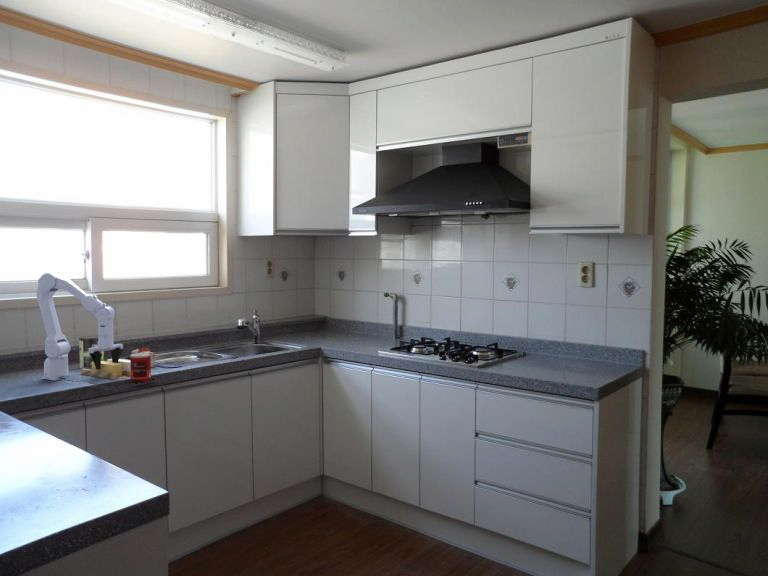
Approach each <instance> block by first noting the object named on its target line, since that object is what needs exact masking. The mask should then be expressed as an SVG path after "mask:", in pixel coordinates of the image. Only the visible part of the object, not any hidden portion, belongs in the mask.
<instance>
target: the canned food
mask: <svg viewBox="0 0 768 576" xmlns="http://www.w3.org/2000/svg"><path fill="white" fill-rule="evenodd" d="M129 357H130V359H129V360H130V368H131V376H130V379H131V380H137V381H132V384H133V383H134V384H143V383H144V384H145V383H149V382H150V381H151V379H152V371H151V370H152V367H151V357H150V354H149V353H136V354H132V355H131V354H130V356H129Z"/></svg>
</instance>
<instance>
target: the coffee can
mask: <svg viewBox="0 0 768 576" xmlns="http://www.w3.org/2000/svg"><path fill="white" fill-rule="evenodd" d="M78 341H79V343H78V345H79V346H78V347H79V369H80V368H82V369H89V368H92V362H94V361H93V359H92V358H91V356H90V354H89V348H93V347H97V346H99V345H98V335H85V336H79V337H78ZM103 350H105V349H103ZM100 353H102V357H101V361H105V351H101V352H100Z"/></svg>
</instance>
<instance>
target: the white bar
mask: <svg viewBox="0 0 768 576" xmlns="http://www.w3.org/2000/svg"><path fill="white" fill-rule="evenodd" d="M106 362H112V358H110V359H109V358H108V359H107V360H106ZM118 363H120V364H122V370H129V371H131V368H130V359H123V358H119V360H118Z"/></svg>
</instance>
